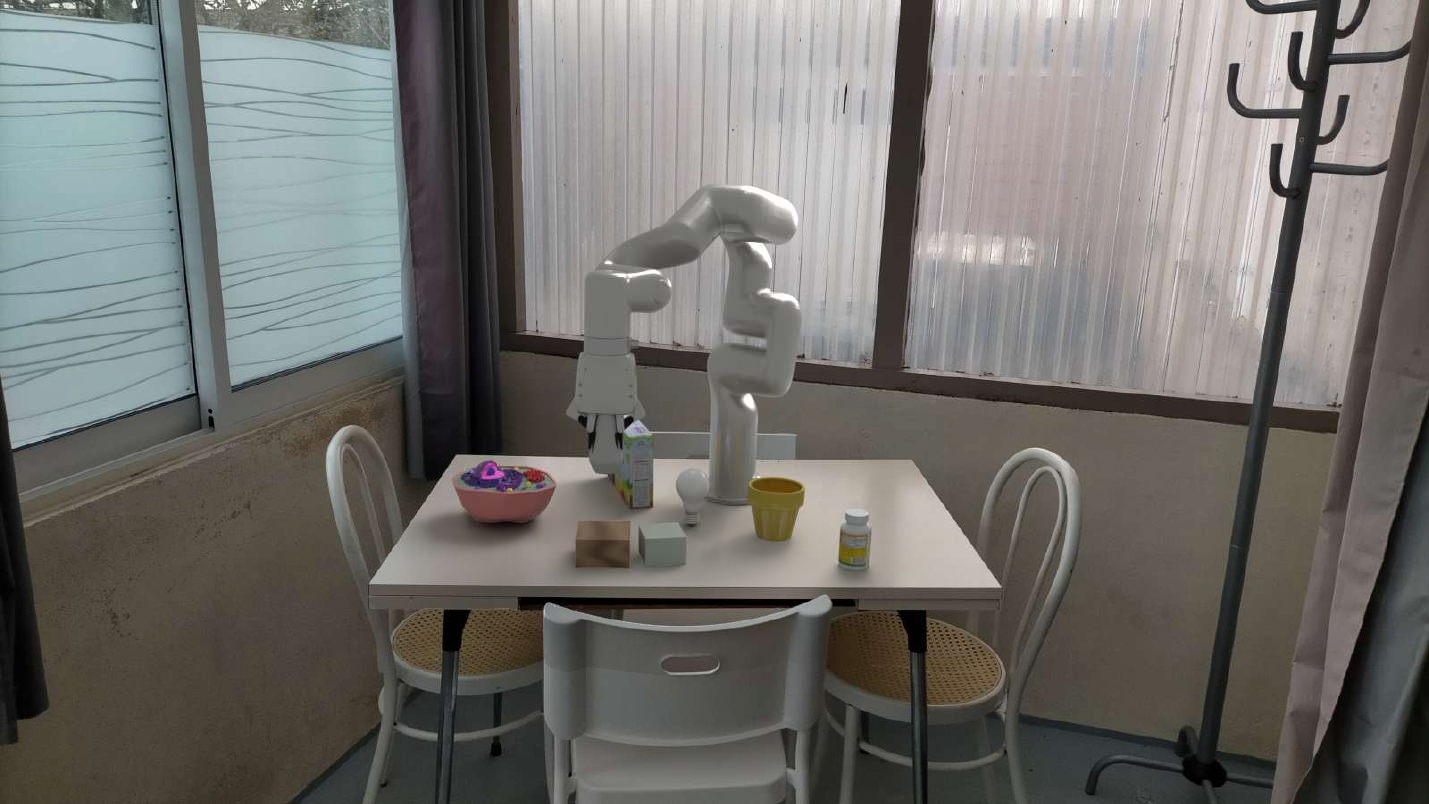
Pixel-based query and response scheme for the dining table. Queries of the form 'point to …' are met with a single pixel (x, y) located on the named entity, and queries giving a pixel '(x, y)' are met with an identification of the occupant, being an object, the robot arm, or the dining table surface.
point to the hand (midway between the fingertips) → (605, 452)
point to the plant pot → (775, 506)
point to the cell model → (504, 492)
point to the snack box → (635, 467)
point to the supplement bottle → (855, 540)
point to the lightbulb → (692, 492)
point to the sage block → (662, 544)
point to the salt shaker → (605, 446)
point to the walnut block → (603, 544)
